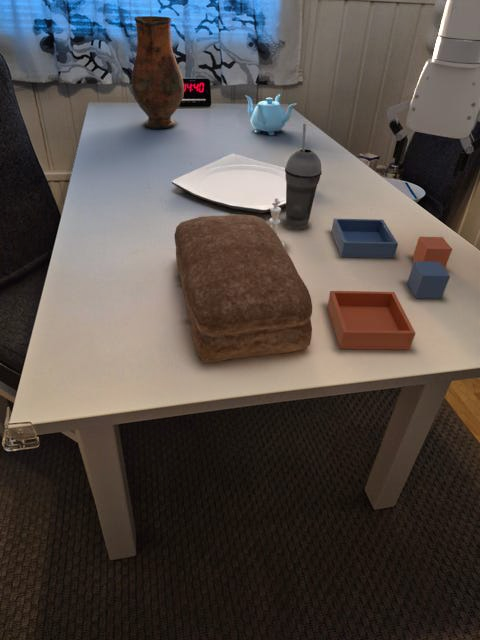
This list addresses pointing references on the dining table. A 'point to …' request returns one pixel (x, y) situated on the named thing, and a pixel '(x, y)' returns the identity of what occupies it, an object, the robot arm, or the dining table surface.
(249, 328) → the bread
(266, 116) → the teapot
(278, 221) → the chess piece
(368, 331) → the terracotta bin
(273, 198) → the plate
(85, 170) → the dining table surface
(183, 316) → the dining table surface
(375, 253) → the slate bin
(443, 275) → the slate block
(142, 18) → the brown vase
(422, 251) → the terracotta block
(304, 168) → the beverage cup
